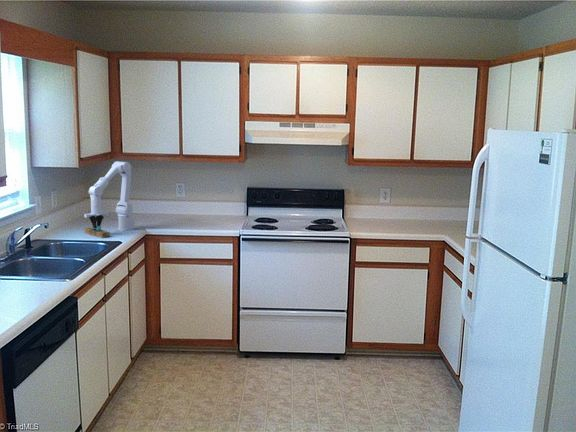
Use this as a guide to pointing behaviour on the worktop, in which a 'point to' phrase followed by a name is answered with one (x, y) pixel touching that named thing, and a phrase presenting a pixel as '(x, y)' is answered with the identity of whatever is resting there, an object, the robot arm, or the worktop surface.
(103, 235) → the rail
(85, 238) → the worktop surface
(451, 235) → the worktop surface
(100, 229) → the clip
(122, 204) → the robot arm
